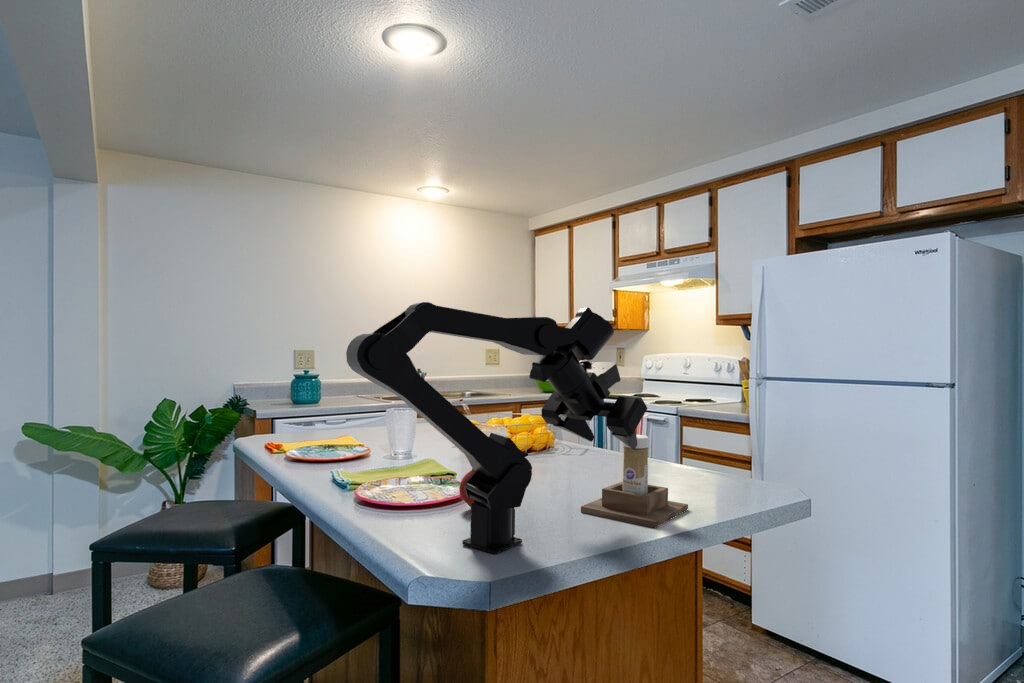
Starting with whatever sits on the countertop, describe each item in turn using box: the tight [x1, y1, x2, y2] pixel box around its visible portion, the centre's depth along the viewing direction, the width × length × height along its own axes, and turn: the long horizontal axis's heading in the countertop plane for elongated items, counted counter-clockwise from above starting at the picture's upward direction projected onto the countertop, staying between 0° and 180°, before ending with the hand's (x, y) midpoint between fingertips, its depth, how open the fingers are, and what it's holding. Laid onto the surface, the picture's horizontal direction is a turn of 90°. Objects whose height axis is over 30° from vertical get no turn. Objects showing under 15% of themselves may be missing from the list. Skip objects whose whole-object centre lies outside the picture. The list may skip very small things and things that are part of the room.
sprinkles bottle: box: [622, 433, 650, 495], centre depth 105 cm, size 5×5×13 cm
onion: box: [458, 467, 475, 508], centre depth 104 cm, size 6×6×8 cm
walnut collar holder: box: [580, 481, 689, 529], centre depth 105 cm, size 14×14×4 cm
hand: (613, 442), depth 100 cm, fingers open, 9 cm apart
